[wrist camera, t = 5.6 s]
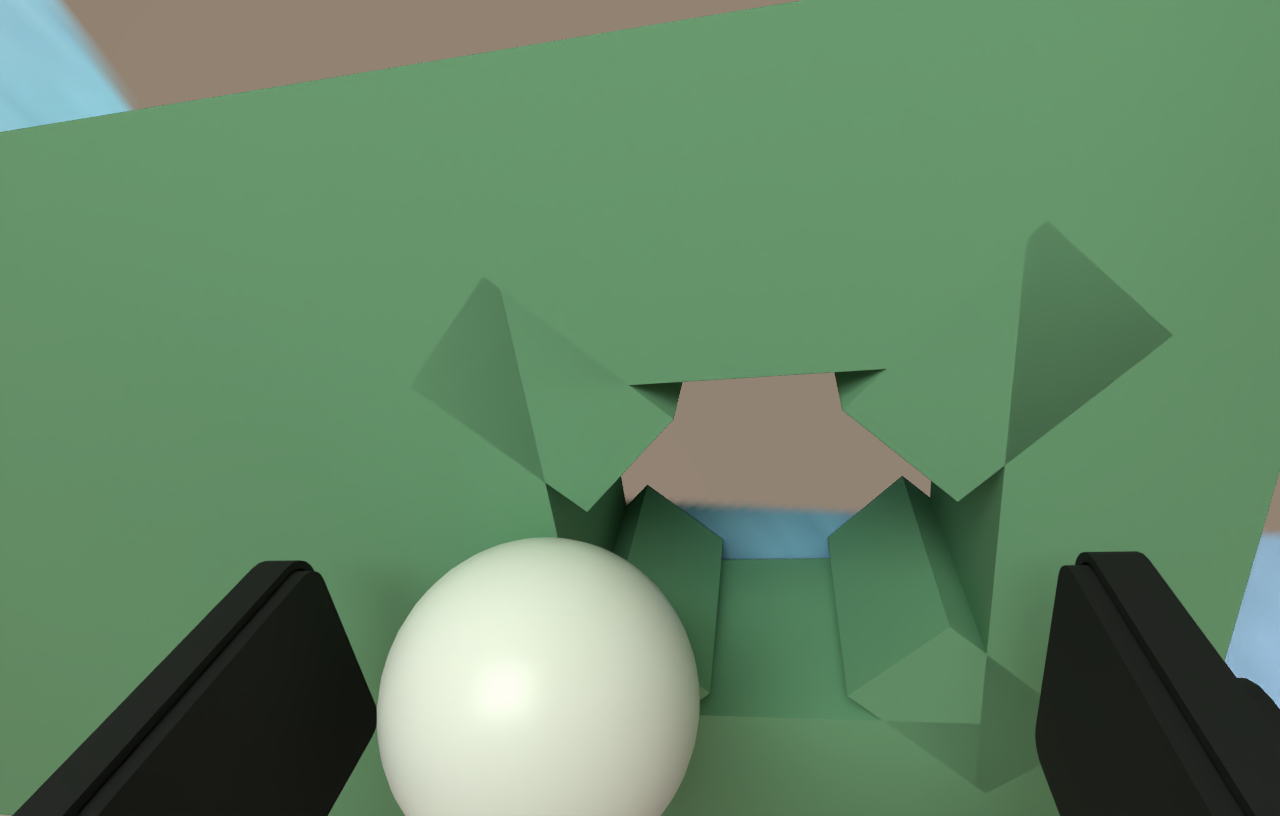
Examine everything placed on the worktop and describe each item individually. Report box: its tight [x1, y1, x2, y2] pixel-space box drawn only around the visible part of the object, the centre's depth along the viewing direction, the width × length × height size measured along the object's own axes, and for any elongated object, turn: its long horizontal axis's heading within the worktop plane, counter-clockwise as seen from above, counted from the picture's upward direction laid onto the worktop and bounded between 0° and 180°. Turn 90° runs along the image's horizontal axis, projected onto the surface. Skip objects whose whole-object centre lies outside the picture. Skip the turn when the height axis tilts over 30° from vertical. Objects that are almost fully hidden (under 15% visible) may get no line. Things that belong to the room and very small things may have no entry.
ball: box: [377, 537, 700, 816], centre depth 9 cm, size 4×4×4 cm
